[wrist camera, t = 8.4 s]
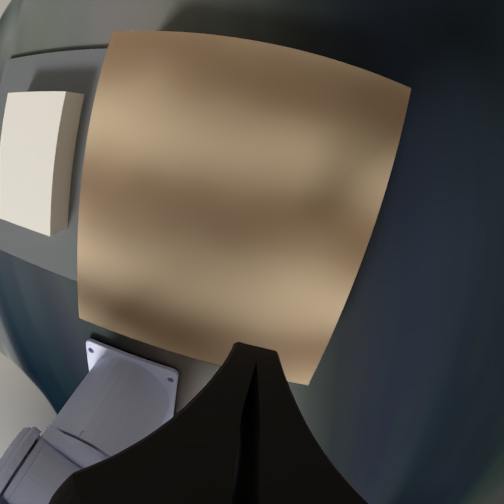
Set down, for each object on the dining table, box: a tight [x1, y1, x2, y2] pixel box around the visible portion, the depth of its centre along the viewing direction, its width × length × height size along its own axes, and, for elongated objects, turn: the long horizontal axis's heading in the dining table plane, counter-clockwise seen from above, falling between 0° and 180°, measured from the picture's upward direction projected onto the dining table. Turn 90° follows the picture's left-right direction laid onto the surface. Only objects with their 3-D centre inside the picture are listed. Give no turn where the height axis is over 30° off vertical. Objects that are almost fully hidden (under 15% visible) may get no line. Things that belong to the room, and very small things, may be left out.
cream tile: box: [0, 91, 85, 236], centre depth 16 cm, size 9×6×2 cm, turn 166°
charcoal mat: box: [0, 48, 107, 282], centre depth 17 cm, size 16×13×1 cm
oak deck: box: [77, 31, 411, 385], centre depth 15 cm, size 16×14×4 cm
